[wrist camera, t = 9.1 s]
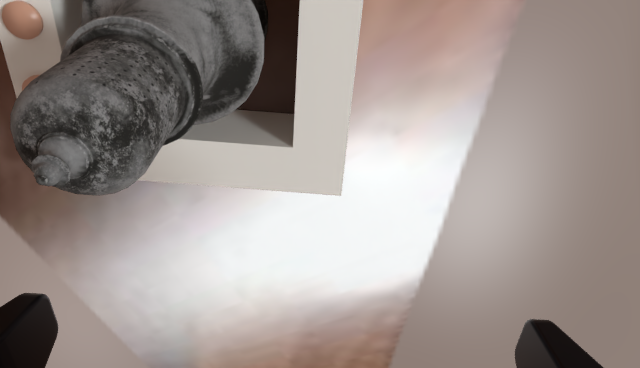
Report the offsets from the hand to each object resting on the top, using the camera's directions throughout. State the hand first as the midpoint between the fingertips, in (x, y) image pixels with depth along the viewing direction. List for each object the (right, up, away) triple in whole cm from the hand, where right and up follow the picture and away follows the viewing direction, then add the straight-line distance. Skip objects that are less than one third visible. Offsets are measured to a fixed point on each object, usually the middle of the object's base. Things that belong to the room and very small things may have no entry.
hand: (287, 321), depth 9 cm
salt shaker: (-4, +9, +10) cm, 14 cm away
